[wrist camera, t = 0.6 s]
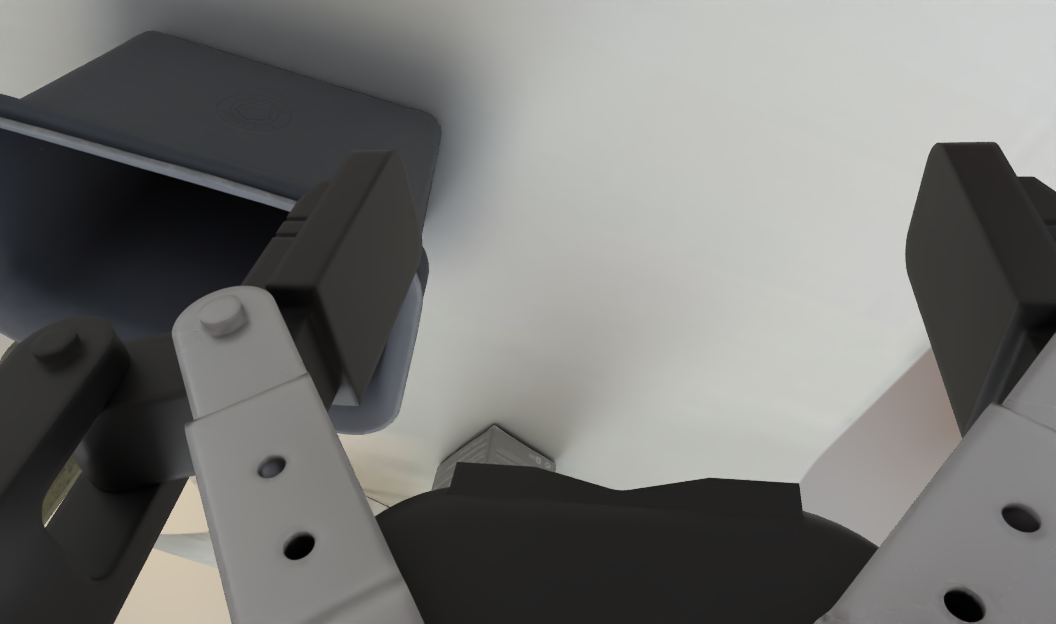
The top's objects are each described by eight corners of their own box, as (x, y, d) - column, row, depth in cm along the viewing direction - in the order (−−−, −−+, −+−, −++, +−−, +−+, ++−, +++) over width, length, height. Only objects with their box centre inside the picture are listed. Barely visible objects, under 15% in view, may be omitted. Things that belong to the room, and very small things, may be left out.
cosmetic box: (494, 420, 57) (443, 621, 45) (566, 467, 59) (536, 670, 48) (432, 466, 62) (371, 658, 50) (501, 508, 64) (458, 701, 53)
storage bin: (502, 87, 40) (433, 248, 29) (450, 301, 50) (385, 478, 40) (100, -38, 39) (-124, 82, 28) (131, 206, 49) (-24, 361, 39)
